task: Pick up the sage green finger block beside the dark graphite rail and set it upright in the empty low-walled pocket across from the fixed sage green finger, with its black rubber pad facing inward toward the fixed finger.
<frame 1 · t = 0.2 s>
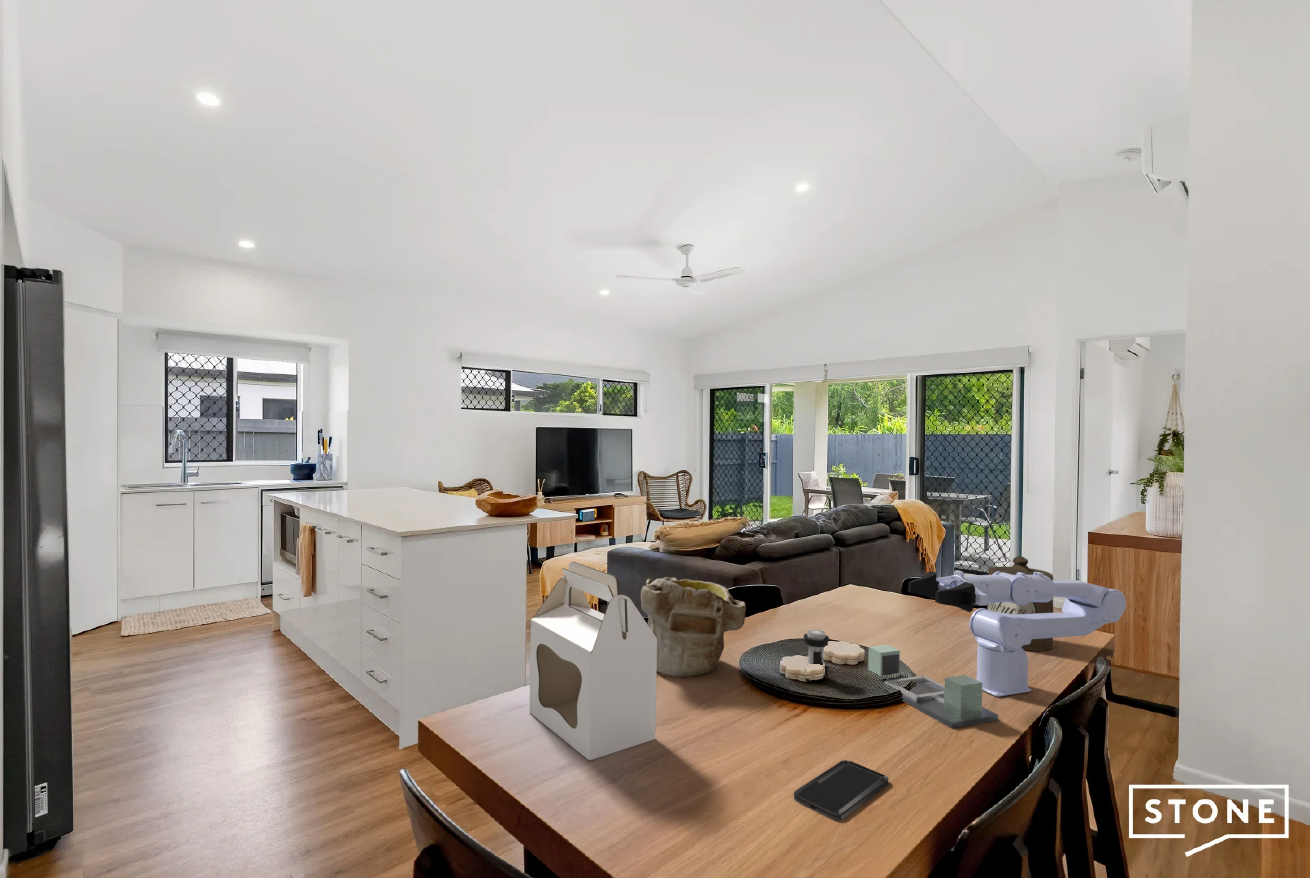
hand: (922, 592, 131), 21 cm above the table, tool horizontal, fingers open, 7 cm apart
gable box: (589, 727, 116), on the table
finger block: (883, 676, 143), on the table
rail: (934, 702, 129), on the table
ceramic vessel: (692, 668, 146), on the table
push button: (813, 680, 140), on the table
wooden container: (1019, 642, 169), on the table
phone: (841, 794, 97), on the table
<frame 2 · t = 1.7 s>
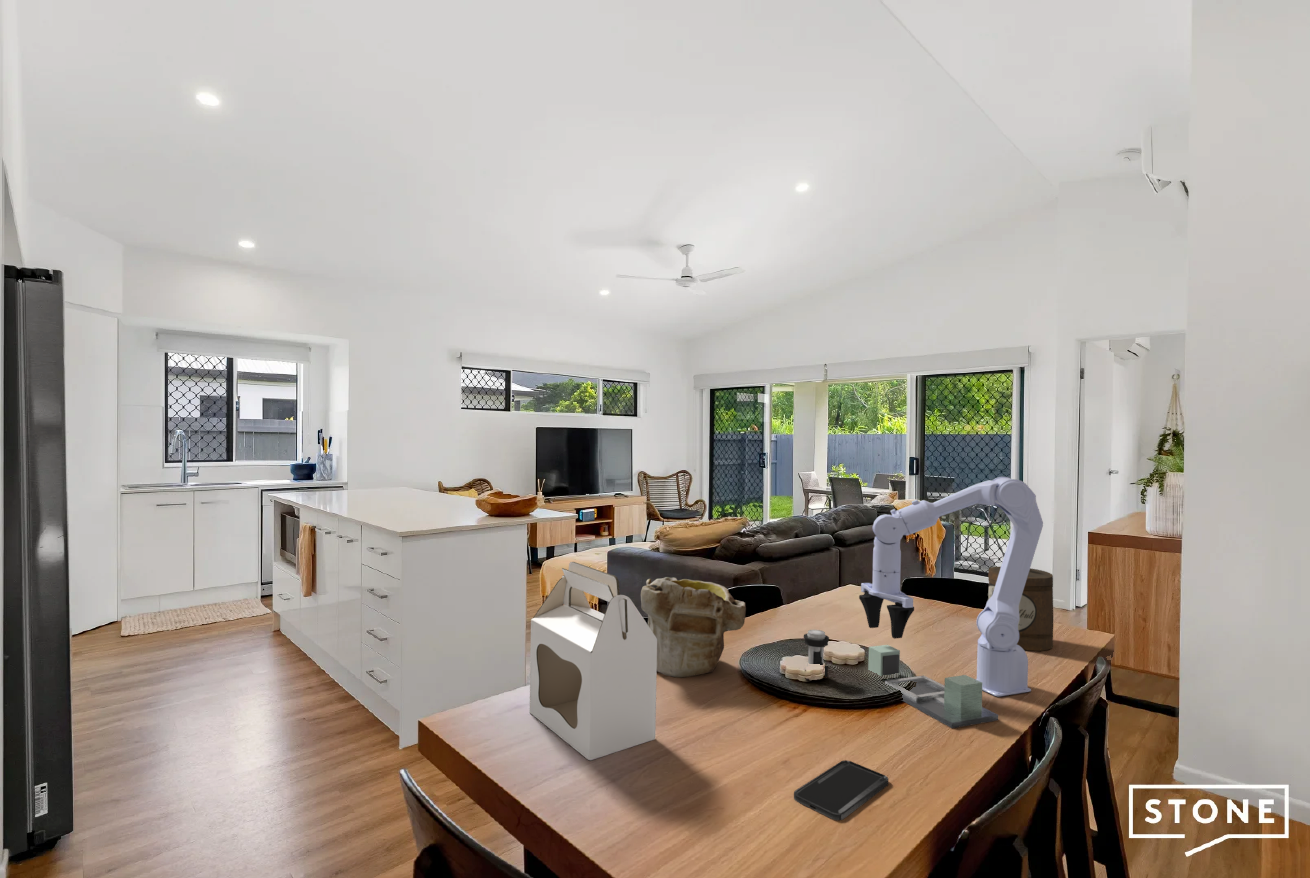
hand: (885, 632, 143), 10 cm above the table, tool pointing down, fingers open, 7 cm apart
nothing on the table moved.
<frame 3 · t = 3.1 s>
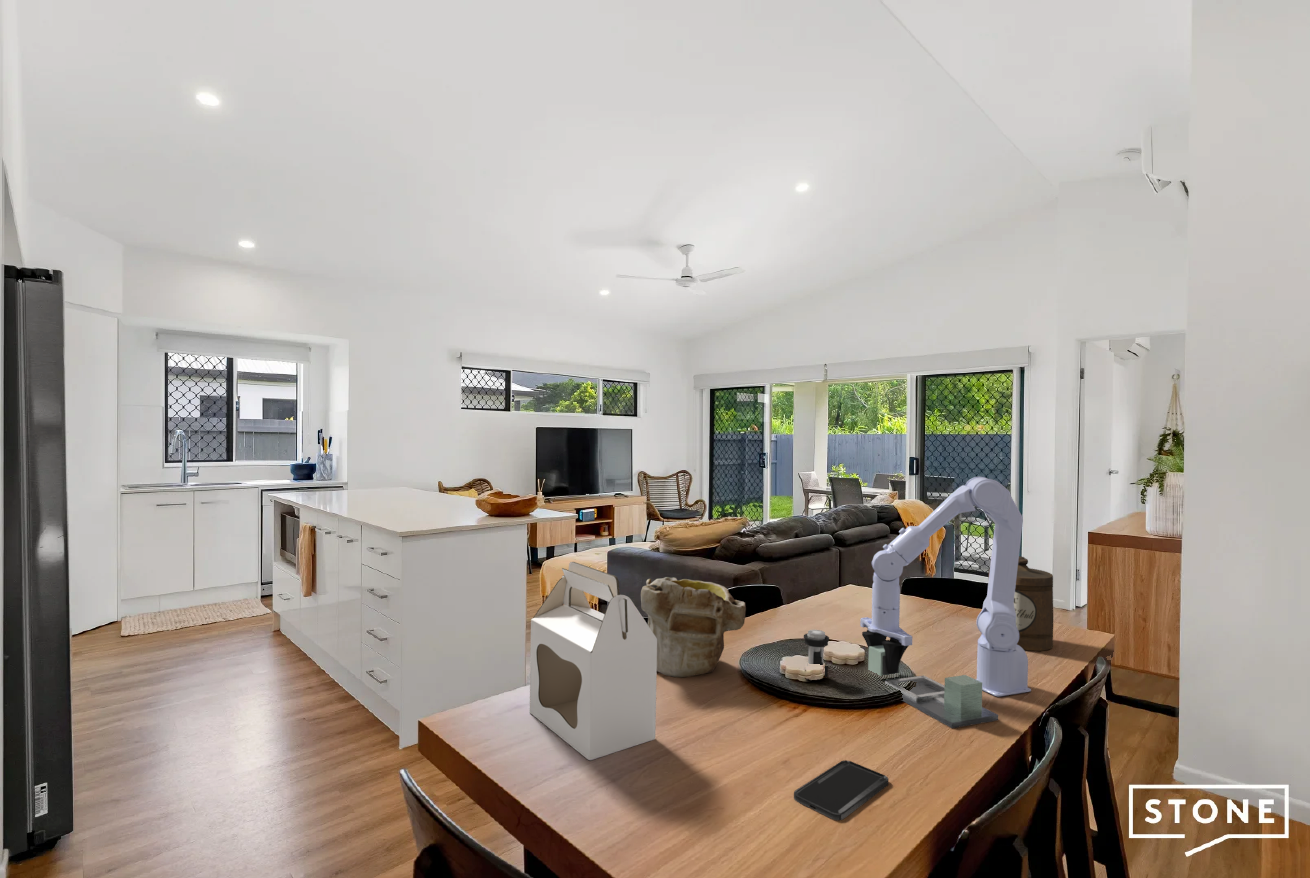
hand: (884, 668, 143), 2 cm above the table, tool pointing down, fingers closed on finger block, 4 cm apart
finger block: (883, 675, 143), on the table, touching gripper
everything else where it was.
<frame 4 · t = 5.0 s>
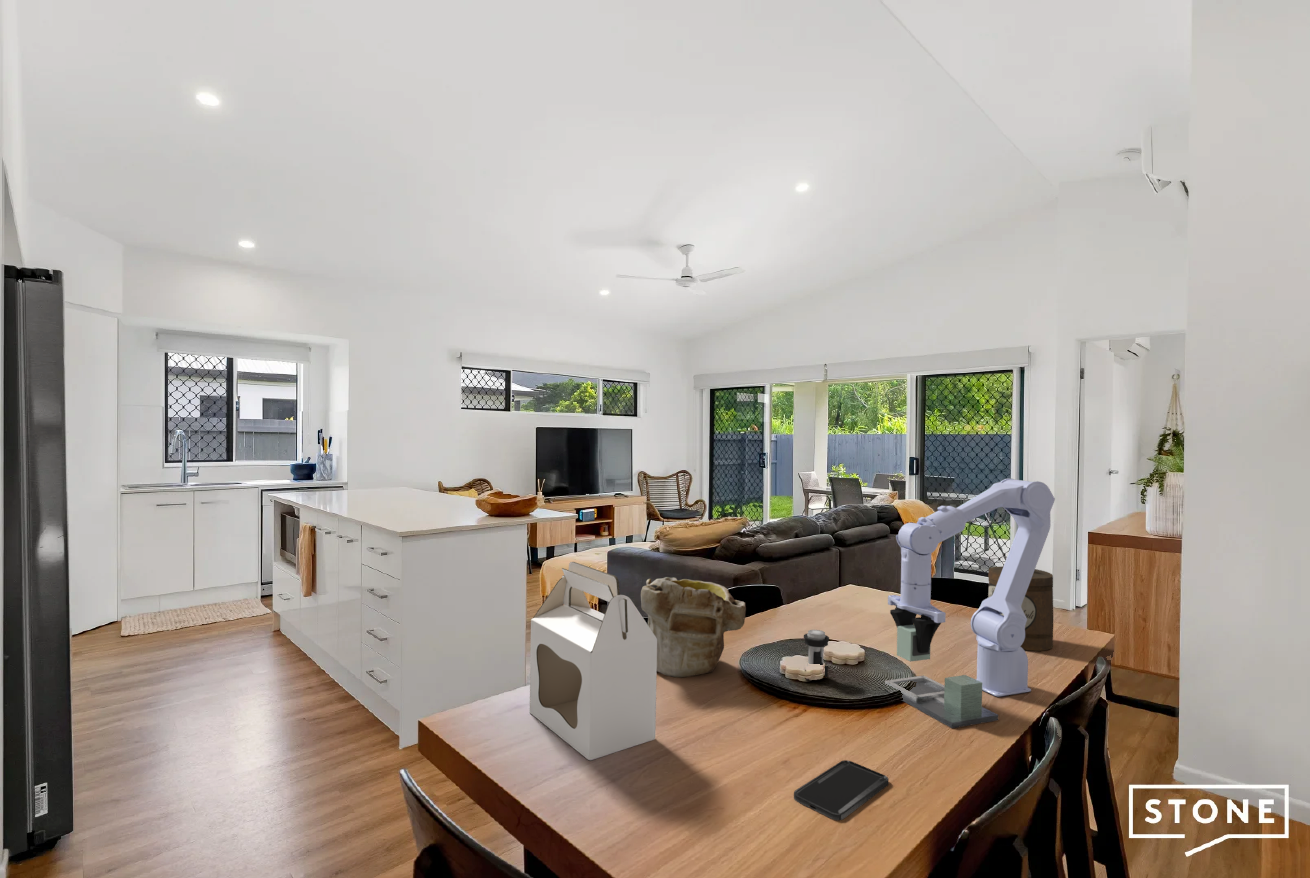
hand: (914, 648, 135), 9 cm above the table, tool pointing down, fingers closed on finger block, 4 cm apart
finger block: (913, 657, 135), point 7 cm above the table, touching gripper
everything else where it was.
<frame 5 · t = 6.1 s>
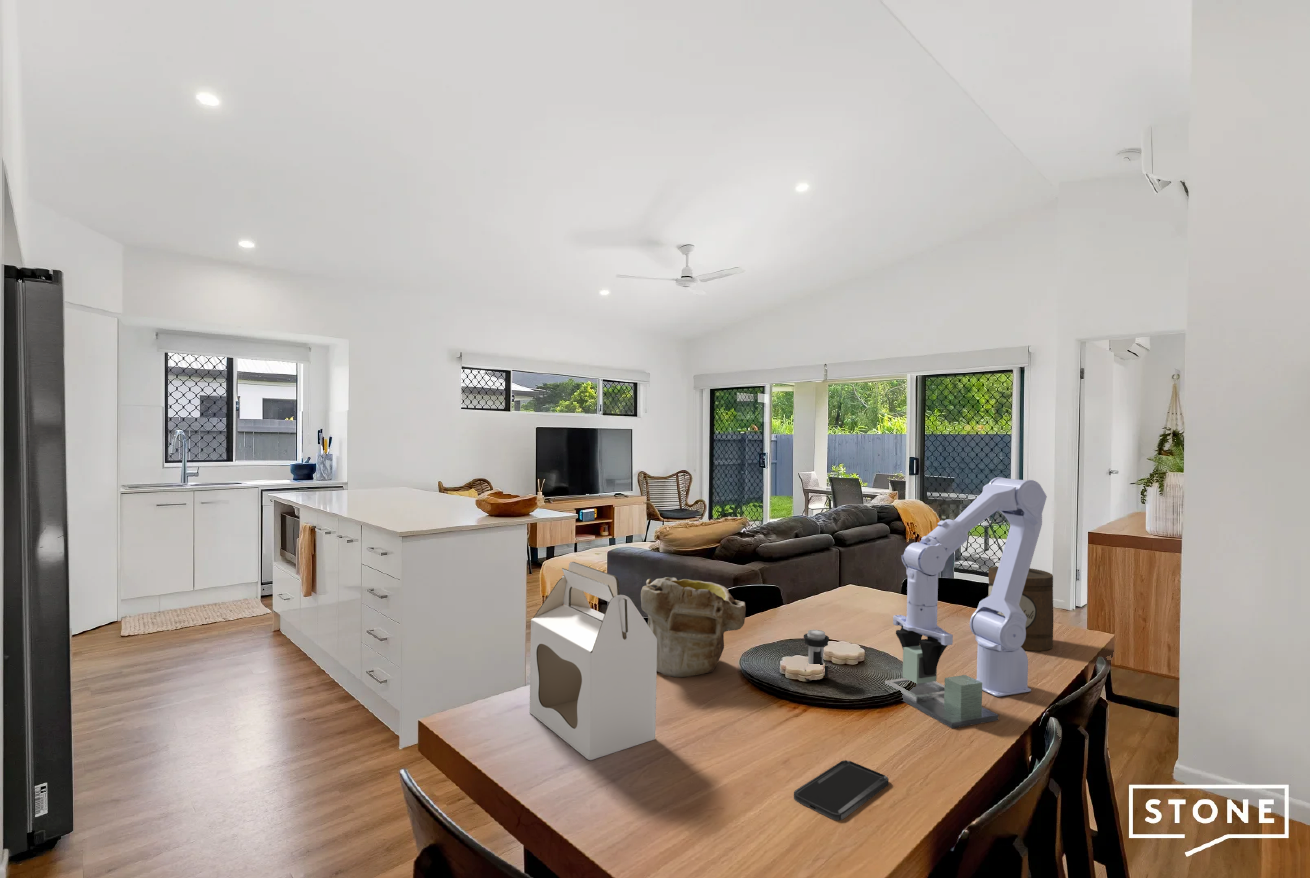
hand: (920, 669, 133), 5 cm above the table, tool pointing down, fingers closed on finger block, 4 cm apart
finger block: (919, 678, 133), point 3 cm above the table, touching gripper
everything else where it was.
when the fingers open (3 cm above the table, at t = 6.9 s): finger block stays where it is, resting on rail.
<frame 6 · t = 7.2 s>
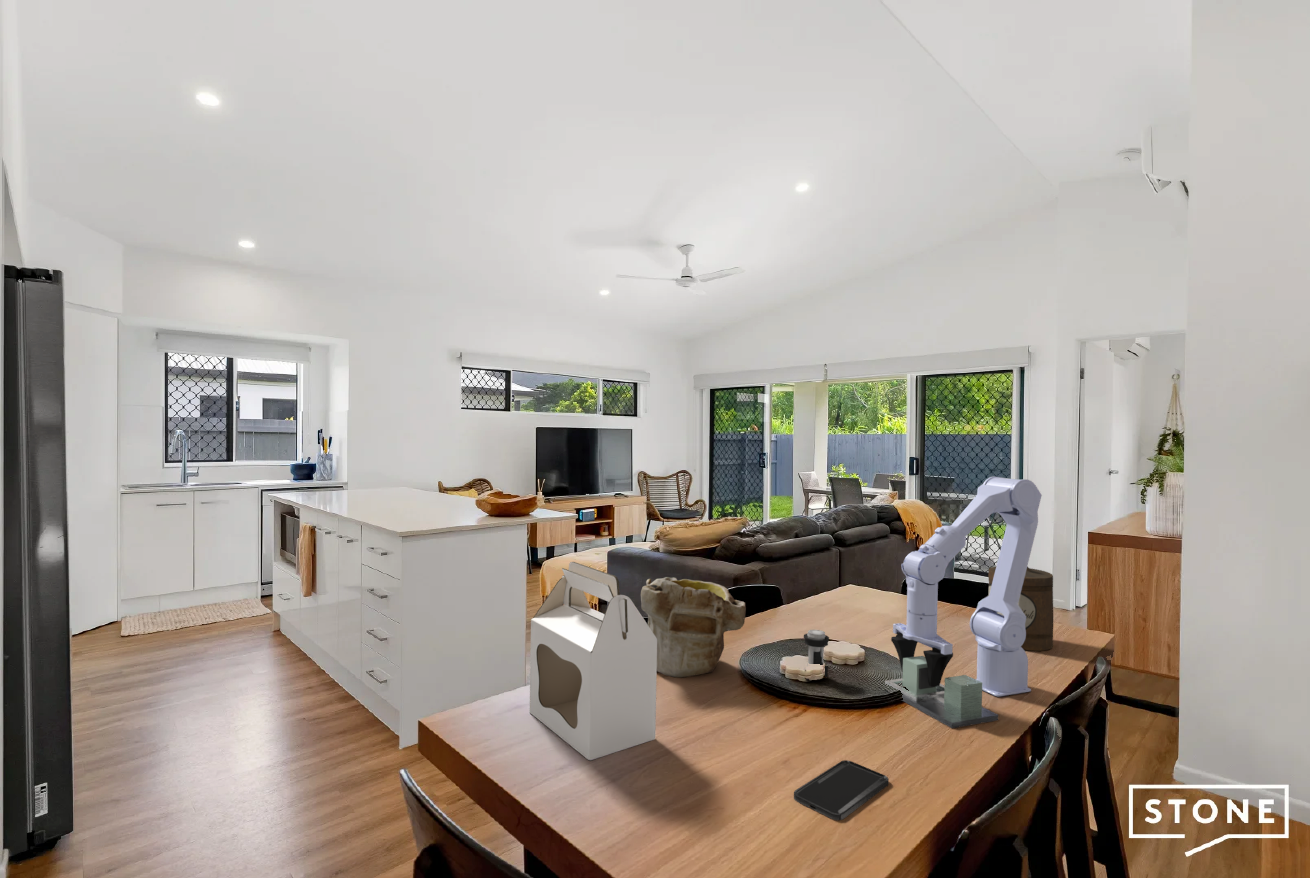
hand: (920, 678, 133), 3 cm above the table, tool pointing down, fingers open, 7 cm apart
finger block: (919, 689, 133), point 1 cm above the table, touching rail
everything else where it was.
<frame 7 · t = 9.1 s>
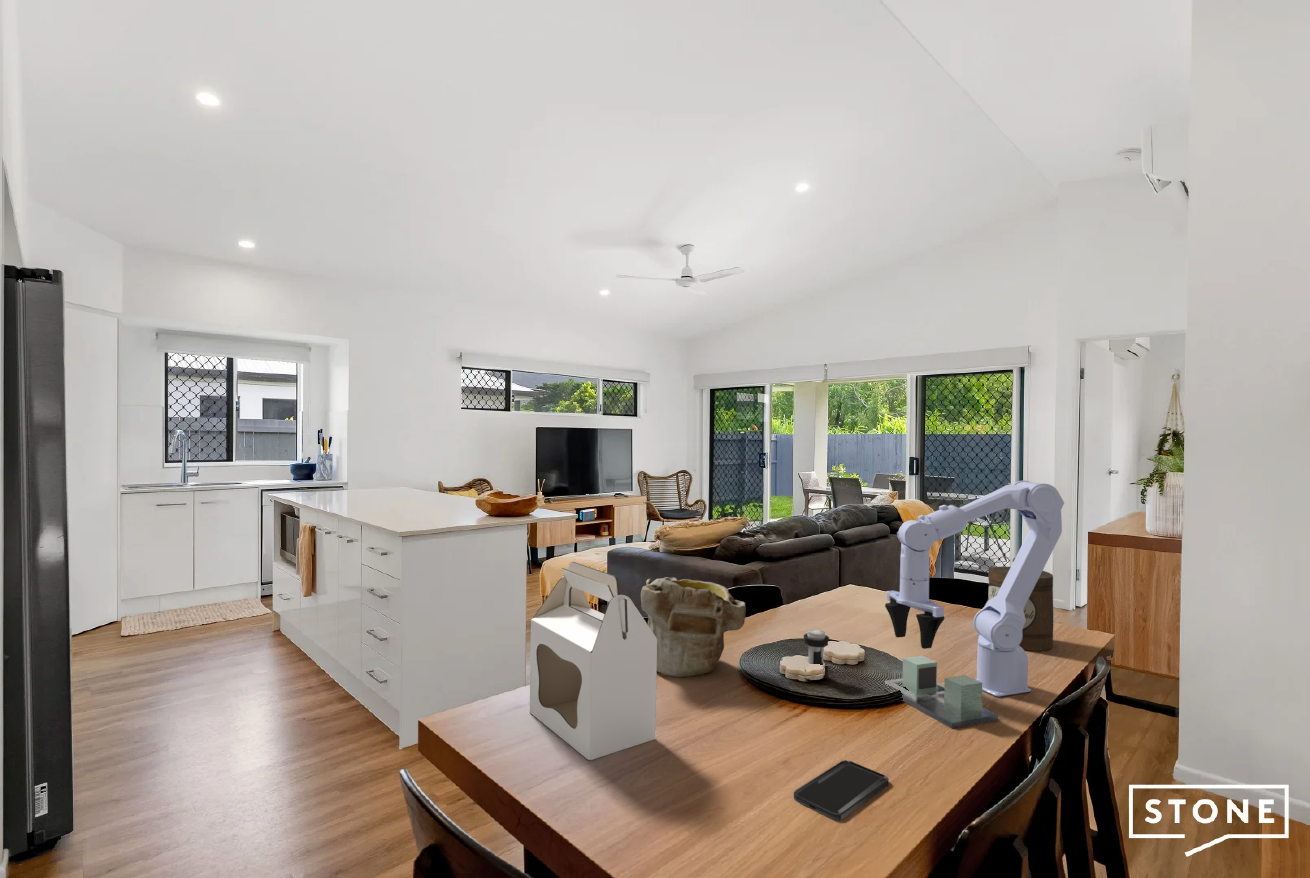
hand: (913, 642, 138), 9 cm above the table, tool pointing down, fingers open, 7 cm apart
nothing on the table moved.
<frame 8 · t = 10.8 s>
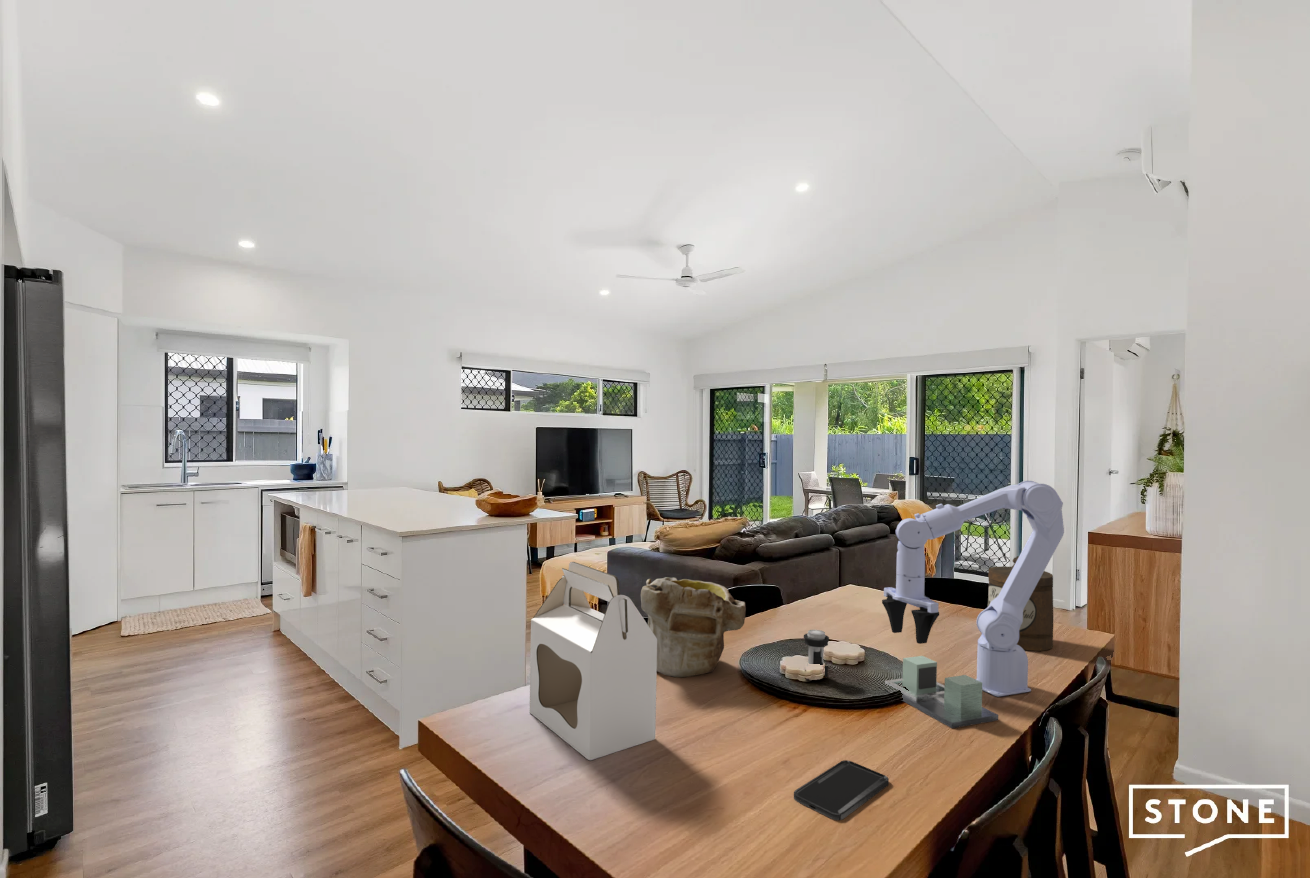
hand: (909, 637, 142), 9 cm above the table, tool pointing down, fingers open, 7 cm apart
nothing on the table moved.
at the end: finger block 0.2 cm from the target spot on the rail, point 1.0 cm above the rail's base; finger block tilted 0°; the gripper is holding nothing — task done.
